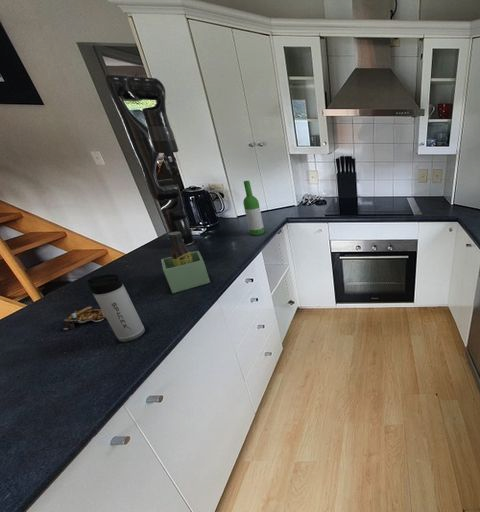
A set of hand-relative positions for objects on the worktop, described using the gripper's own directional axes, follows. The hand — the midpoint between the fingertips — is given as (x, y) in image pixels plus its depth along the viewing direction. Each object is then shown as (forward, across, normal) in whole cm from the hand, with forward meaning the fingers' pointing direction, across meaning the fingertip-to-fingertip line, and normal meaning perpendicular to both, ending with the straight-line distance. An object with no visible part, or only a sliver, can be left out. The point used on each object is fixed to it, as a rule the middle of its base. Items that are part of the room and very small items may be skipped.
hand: (176, 182), depth 111 cm
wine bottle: (+36, -20, +31) cm, 52 cm away
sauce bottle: (+35, +18, -7) cm, 40 cm away
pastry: (+36, +25, -35) cm, 56 cm away
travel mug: (+36, +43, -25) cm, 62 cm away
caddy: (+36, +18, -7) cm, 41 cm away
